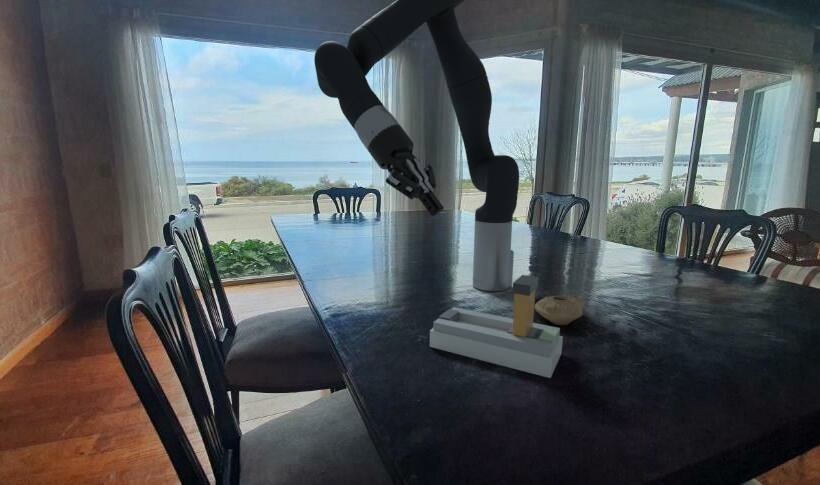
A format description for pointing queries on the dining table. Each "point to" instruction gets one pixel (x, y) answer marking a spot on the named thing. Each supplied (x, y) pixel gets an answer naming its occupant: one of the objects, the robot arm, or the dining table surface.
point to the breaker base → (497, 352)
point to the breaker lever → (524, 307)
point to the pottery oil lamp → (560, 308)
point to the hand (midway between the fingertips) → (438, 212)
